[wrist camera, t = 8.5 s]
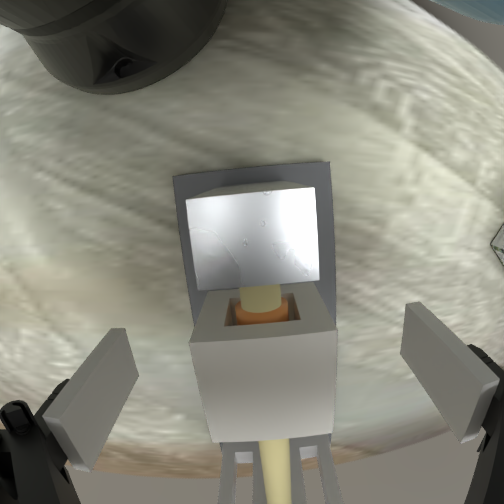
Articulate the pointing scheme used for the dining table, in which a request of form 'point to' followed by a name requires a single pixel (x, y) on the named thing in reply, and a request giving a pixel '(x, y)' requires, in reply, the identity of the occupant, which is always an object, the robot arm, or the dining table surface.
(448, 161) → the dining table surface
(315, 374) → the sleeve
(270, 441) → the cable comb board
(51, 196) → the dining table surface
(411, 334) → the robot arm
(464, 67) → the dining table surface
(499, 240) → the syrup box
